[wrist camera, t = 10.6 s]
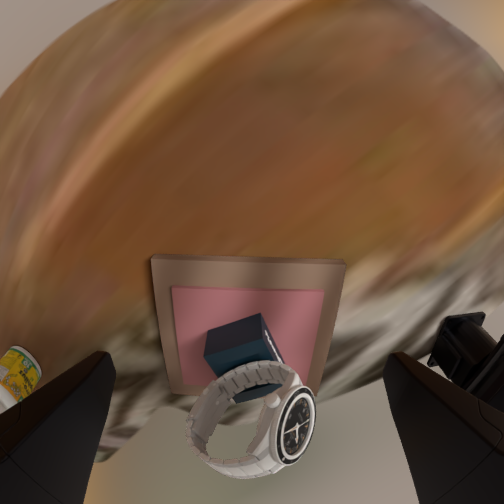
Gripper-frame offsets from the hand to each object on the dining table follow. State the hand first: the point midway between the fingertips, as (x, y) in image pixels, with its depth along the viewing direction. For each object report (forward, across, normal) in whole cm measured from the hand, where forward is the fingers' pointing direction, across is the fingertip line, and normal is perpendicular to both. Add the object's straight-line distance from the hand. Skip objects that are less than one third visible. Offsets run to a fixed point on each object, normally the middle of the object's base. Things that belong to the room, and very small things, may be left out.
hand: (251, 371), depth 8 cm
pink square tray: (+13, 0, +9) cm, 16 cm away
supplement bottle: (+14, +27, +16) cm, 34 cm away
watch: (+12, 0, +9) cm, 15 cm away
